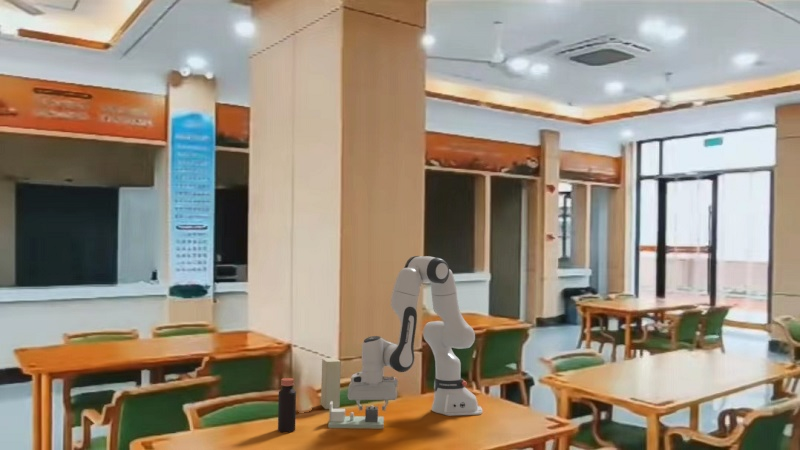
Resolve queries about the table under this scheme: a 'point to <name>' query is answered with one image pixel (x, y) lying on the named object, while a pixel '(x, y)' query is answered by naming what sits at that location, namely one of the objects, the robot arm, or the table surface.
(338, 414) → the cover
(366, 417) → the collar
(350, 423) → the base
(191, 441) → the table surface
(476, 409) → the robot arm
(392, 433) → the table surface
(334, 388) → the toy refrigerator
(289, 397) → the bottle
